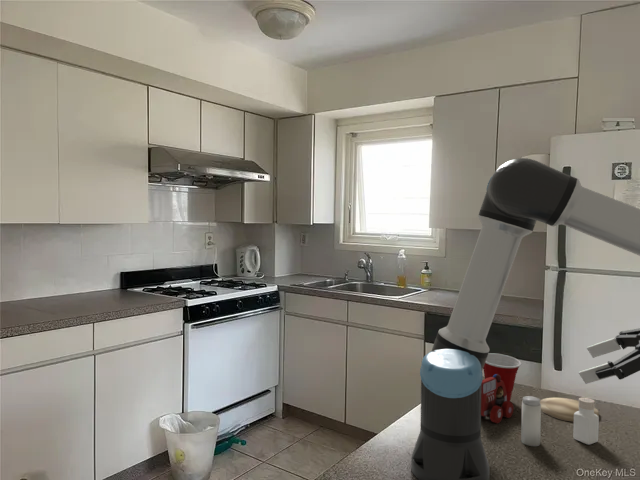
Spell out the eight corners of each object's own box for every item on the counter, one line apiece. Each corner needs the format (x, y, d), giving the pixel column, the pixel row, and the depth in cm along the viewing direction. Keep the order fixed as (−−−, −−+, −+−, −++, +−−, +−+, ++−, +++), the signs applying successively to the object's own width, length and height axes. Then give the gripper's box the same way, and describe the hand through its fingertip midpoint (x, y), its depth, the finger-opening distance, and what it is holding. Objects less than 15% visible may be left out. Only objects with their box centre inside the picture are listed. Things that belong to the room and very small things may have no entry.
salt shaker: (539, 447, 106) (540, 403, 105) (520, 443, 108) (520, 400, 107) (540, 440, 109) (541, 397, 109) (522, 436, 111) (522, 394, 111)
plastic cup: (508, 411, 126) (509, 366, 125) (471, 399, 134) (472, 357, 134) (527, 401, 133) (528, 358, 132) (491, 390, 141) (492, 350, 141)
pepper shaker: (588, 446, 107) (589, 404, 106) (571, 439, 110) (572, 398, 110) (599, 442, 109) (600, 401, 108) (582, 435, 112) (583, 395, 112)
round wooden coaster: (599, 426, 117) (599, 422, 117) (536, 415, 123) (536, 411, 123) (597, 407, 129) (597, 403, 129) (541, 397, 136) (541, 393, 136)
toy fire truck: (517, 414, 124) (518, 375, 124) (491, 427, 116) (492, 385, 116) (493, 406, 130) (493, 368, 129) (467, 418, 122) (467, 378, 121)
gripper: (704, 376, 86) (588, 406, 99) (697, 326, 106) (601, 356, 119) (680, 339, 87) (568, 373, 100) (677, 296, 107) (584, 329, 120)
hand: (586, 364), depth 109 cm, fingers open, 13 cm apart
